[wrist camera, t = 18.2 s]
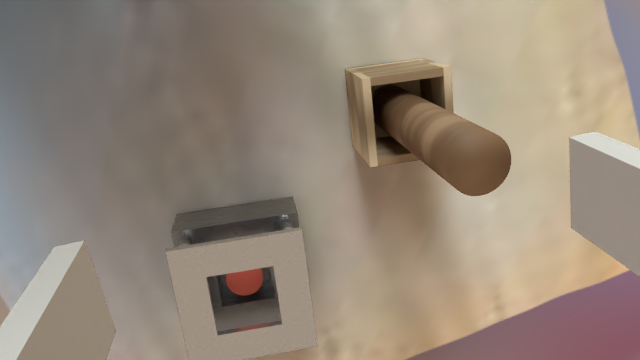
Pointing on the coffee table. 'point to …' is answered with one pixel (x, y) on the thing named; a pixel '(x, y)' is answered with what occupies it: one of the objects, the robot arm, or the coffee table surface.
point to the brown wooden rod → (443, 140)
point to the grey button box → (234, 256)
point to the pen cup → (409, 75)
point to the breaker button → (245, 281)
